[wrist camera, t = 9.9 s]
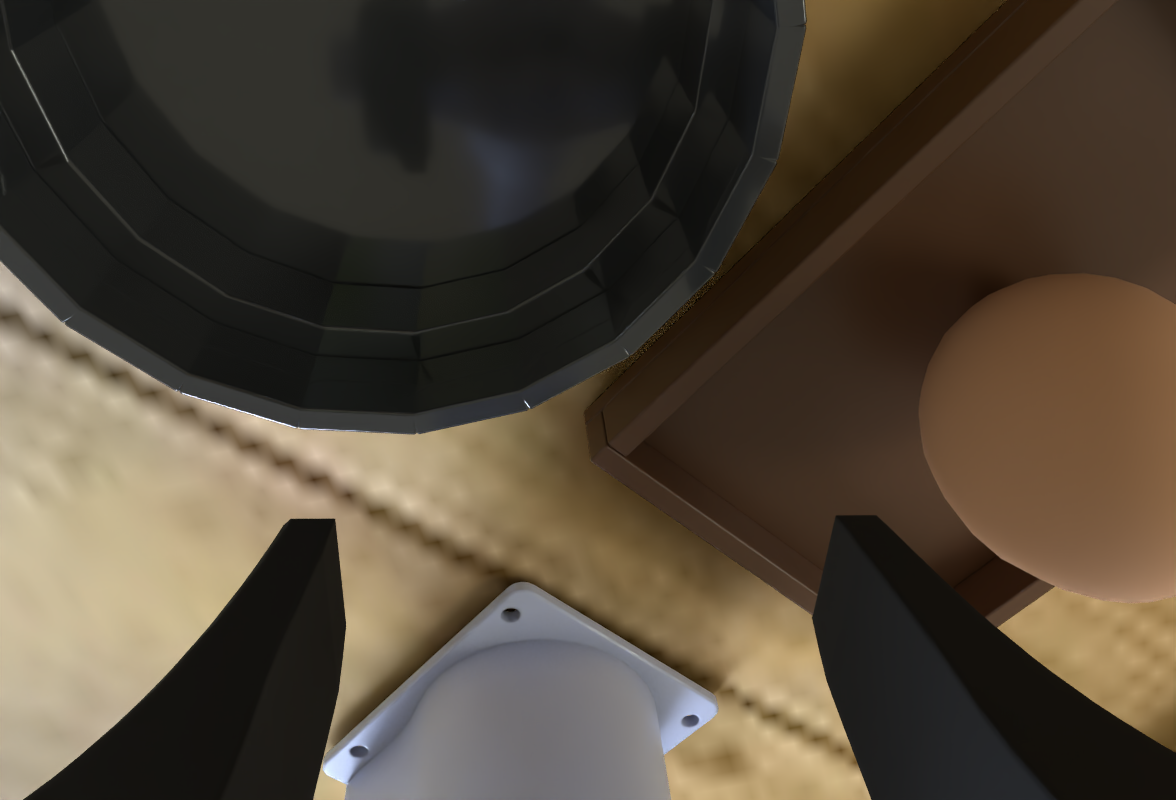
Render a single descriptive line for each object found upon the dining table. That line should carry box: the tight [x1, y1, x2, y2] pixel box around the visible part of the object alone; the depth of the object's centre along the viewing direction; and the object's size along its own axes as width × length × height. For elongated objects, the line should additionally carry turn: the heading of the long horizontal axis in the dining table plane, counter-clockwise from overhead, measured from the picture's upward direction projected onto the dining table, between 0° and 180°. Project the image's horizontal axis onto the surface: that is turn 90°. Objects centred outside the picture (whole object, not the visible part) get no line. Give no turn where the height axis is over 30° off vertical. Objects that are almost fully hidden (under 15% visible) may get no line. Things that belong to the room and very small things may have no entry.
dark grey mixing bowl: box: [0, 0, 807, 434], centre depth 18 cm, size 14×14×4 cm
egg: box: [919, 273, 1176, 603], centre depth 21 cm, size 6×6×8 cm
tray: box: [584, 0, 1176, 628], centre depth 24 cm, size 16×12×2 cm
